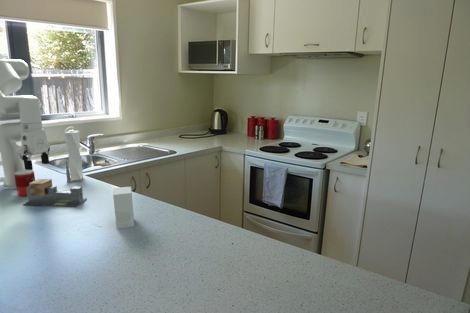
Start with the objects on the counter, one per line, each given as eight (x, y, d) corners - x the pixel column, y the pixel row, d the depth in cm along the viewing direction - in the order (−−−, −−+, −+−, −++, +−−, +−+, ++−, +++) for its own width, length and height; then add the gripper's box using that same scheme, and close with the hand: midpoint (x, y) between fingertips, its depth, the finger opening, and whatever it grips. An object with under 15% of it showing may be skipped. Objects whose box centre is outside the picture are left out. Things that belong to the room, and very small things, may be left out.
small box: (116, 220, 131) (113, 187, 128) (134, 218, 133) (131, 186, 130) (116, 229, 123) (112, 194, 121) (134, 226, 125) (131, 192, 122)
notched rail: (23, 205, 147) (21, 189, 146) (37, 198, 156) (35, 183, 154) (76, 207, 145) (74, 191, 143) (87, 199, 154) (85, 184, 152)
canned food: (31, 197, 157) (27, 174, 155) (13, 197, 157) (9, 174, 155) (40, 191, 165) (37, 169, 162) (24, 191, 165) (20, 169, 162)
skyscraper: (69, 178, 186) (63, 126, 180) (85, 176, 189) (79, 125, 182) (66, 182, 179) (60, 128, 172) (83, 181, 181) (77, 128, 175)
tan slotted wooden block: (30, 195, 147) (29, 183, 146) (40, 190, 153) (38, 178, 152) (44, 195, 147) (42, 183, 145) (53, 191, 153) (51, 179, 152)
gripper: (24, 130, 134) (30, 172, 138) (54, 124, 151) (58, 162, 155) (7, 129, 136) (13, 171, 140) (39, 123, 152) (44, 161, 156)
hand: (37, 166), depth 147 cm, fingers open, 9 cm apart
